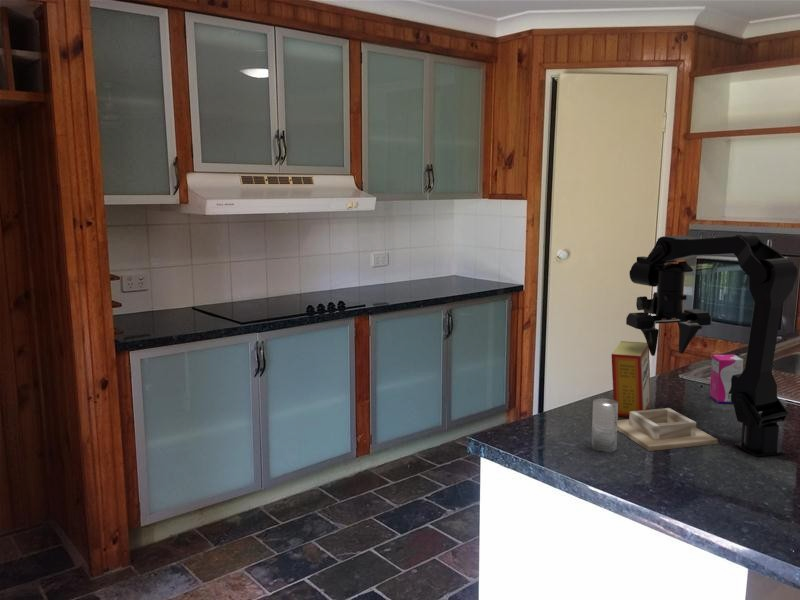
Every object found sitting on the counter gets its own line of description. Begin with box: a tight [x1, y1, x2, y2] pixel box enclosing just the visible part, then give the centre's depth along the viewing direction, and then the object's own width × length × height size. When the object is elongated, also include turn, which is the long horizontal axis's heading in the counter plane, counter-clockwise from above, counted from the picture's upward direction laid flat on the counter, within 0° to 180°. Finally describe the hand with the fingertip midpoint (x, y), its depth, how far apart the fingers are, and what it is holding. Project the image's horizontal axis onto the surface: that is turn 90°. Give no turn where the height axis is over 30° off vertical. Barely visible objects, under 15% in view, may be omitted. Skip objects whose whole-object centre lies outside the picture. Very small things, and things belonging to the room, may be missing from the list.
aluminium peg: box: [591, 398, 619, 453], centre depth 139 cm, size 5×5×10 cm
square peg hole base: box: [617, 407, 719, 452], centre depth 146 cm, size 16×16×4 cm
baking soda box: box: [610, 340, 652, 418], centre depth 159 cm, size 10×6×16 cm
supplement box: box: [709, 354, 744, 405], centre depth 168 cm, size 6×6×12 cm
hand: (666, 354), depth 157 cm, fingers open, 7 cm apart
